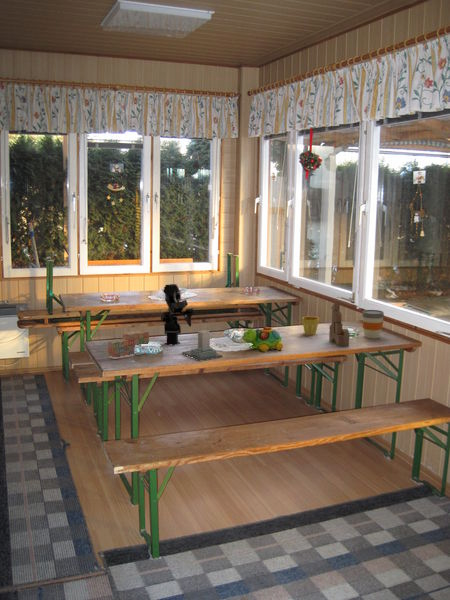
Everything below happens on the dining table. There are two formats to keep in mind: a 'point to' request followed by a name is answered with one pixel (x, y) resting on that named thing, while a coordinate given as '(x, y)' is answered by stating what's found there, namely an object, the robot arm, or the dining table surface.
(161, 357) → the dining table surface
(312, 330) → the plant pot
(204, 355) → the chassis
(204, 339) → the light grey rectangular block
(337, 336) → the wooden toy
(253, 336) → the turtle toy
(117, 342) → the stack of blocks
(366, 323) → the reusable coffee cup
